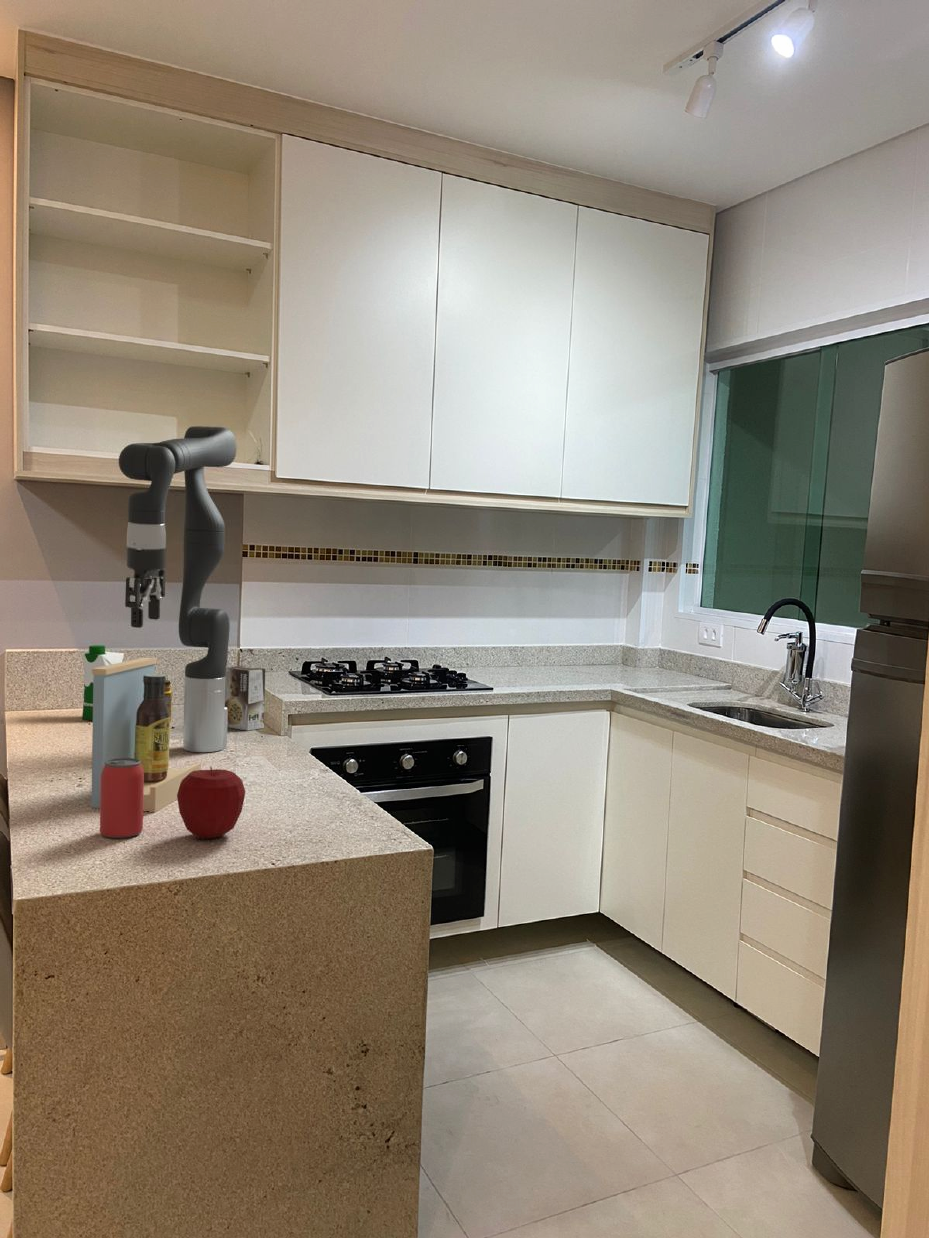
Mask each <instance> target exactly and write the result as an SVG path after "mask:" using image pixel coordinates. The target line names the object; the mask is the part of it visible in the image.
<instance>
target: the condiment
mask: <svg viewBox="0 0 929 1238" xmlns="http://www.w3.org/2000/svg"><path fill="white" fill-rule="evenodd" d="M172 692H173V691H172V690H171V681H170V680H168V679H166V682H165V686H164V695H165V697H164V699H165V702H166V705H167V708H168V711H169V715H170V722H171V723H172V698H173V697H172V695H173V693H172ZM172 725H173V724H172ZM173 726H175V725H173Z"/></svg>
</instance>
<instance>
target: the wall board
mask: <svg viewBox="0 0 929 1238" xmlns="http://www.w3.org/2000/svg"><path fill="white" fill-rule="evenodd" d="M157 661H158V658H157V657H141V658H135V659H131V660H127V661H122V662H121V663H116V664H111V665H107V666H102V667H97V668H93V669H92V674H94V679H93V721H92V733H91V734H92V739H91V740H92V743H91V744H92V745H91V750H92V751H91V791H90V792H91V800H90V804H91V805H90V808H95V809H100V794H101V774H102V770H103V768H104V766H105V764H104V763H105V761H107V760H110V759H115V758H134V749H135V724H136V713H137V709H138V707H139V706H140V704H141V703H142V701H143V700H144V697H143V695H144V682H143V676H144V675H150V674H156V664H157V663H158V662H157ZM196 770H202V763H198V762H195V763H193V764H192V765H190V766H188V767H186V768H184V769H179V768H168V771H167V777H166V778H165V779H164V780H161V781H153V782H144V794H143V811H149V812H148V813H157V812H158V811H160V810H162V809H164V808H165V807H167V806H168V805H171V804H172V803H173V801H174V802H175V801H178V799H177V793H178V790H179V787H180V783H181V781H182V780H183V779H184V778H185V777H186V776H187V775H188V774H189V773H191V772H192V771H196Z"/></svg>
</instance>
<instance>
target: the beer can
mask: <svg viewBox="0 0 929 1238" xmlns="http://www.w3.org/2000/svg"><path fill="white" fill-rule="evenodd" d="M140 763H141V761H140V760H139V759H135V758H115V759H110V760H107V761H105V763H104V764H105V766H104V768H103V770H102V774H101V794H100V808H99V813H100V814H99V833H100V835H102V836H103V837H105V838H108V837H109V839H115V838H120V839H126V838H125V837H129V838H131V837H130V836H133V837H135V836H134V835H136V836H138V835H140V834H141V833H142V831H143V829H144V812H143V794H144V772H143V768H142V766H141V764H140Z"/></svg>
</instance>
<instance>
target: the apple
mask: <svg viewBox="0 0 929 1238" xmlns="http://www.w3.org/2000/svg"><path fill="white" fill-rule="evenodd" d="M209 768H210V769H201V770H196V771H192V772H191V773H189V774H188V775H187V776H186V777H185V778H184V779H183V780H182V781H181V783H180V787H179V790H178V793H177V805H178V811H179V814H180V817H181V818H182V821H183V824H184V826H185V828H186V830H187V831H188V832H190V833H191V834H192V835H193V836H195V837H196V838H198V837H199V838H212V839H216V837H217V838H221V837H222V835H223V836H224V835H226V834H227V833H228V832H230V831H231V830H233V829H234V828H235V826H236V824H237V822H238V820H239V818H240V816H241V814H242V811H243V806H244V802H245V801H244V800H245V796H246V789H245V786H244V783H243V782H244V781H243V779H242V778H241V777H240V776H238V775H237V773H235V772H233V771H231V770H227V769H217V768H215V769H213V768H212V766H210V767H209ZM220 836H221V837H220ZM199 838H198V839H199Z"/></svg>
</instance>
